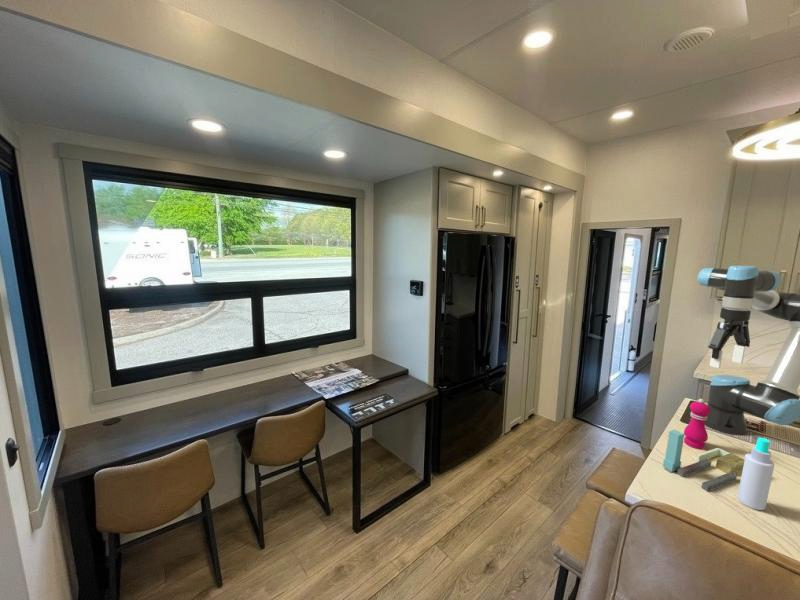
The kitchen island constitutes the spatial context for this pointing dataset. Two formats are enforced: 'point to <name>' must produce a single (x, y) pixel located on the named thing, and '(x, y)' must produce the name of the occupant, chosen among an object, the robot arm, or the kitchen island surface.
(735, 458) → the olive cube
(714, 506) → the kitchen island surface
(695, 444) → the pepper mill
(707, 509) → the kitchen island surface
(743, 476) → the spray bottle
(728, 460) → the olive yellow cube
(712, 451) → the pale green l-shape
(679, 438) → the teal rectangular block
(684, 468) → the channel
